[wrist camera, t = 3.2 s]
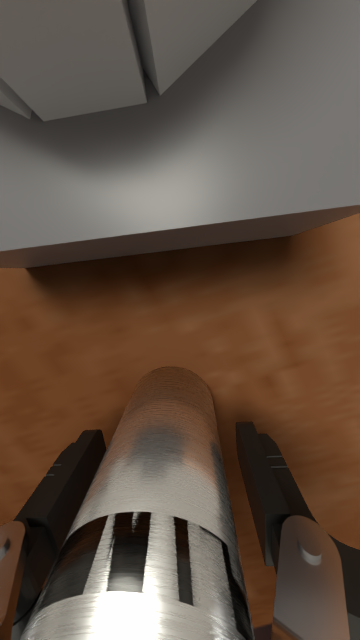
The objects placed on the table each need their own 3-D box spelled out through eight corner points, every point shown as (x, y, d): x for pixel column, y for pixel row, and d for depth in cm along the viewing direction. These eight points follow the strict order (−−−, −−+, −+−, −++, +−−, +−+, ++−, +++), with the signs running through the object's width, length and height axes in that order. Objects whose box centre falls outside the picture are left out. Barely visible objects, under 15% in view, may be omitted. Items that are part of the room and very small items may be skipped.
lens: (139, 437, 13) (38, 776, 4) (126, 369, 12) (-50, 650, 3) (215, 433, 13) (272, 795, 4) (209, 363, 11) (273, 660, 3)
